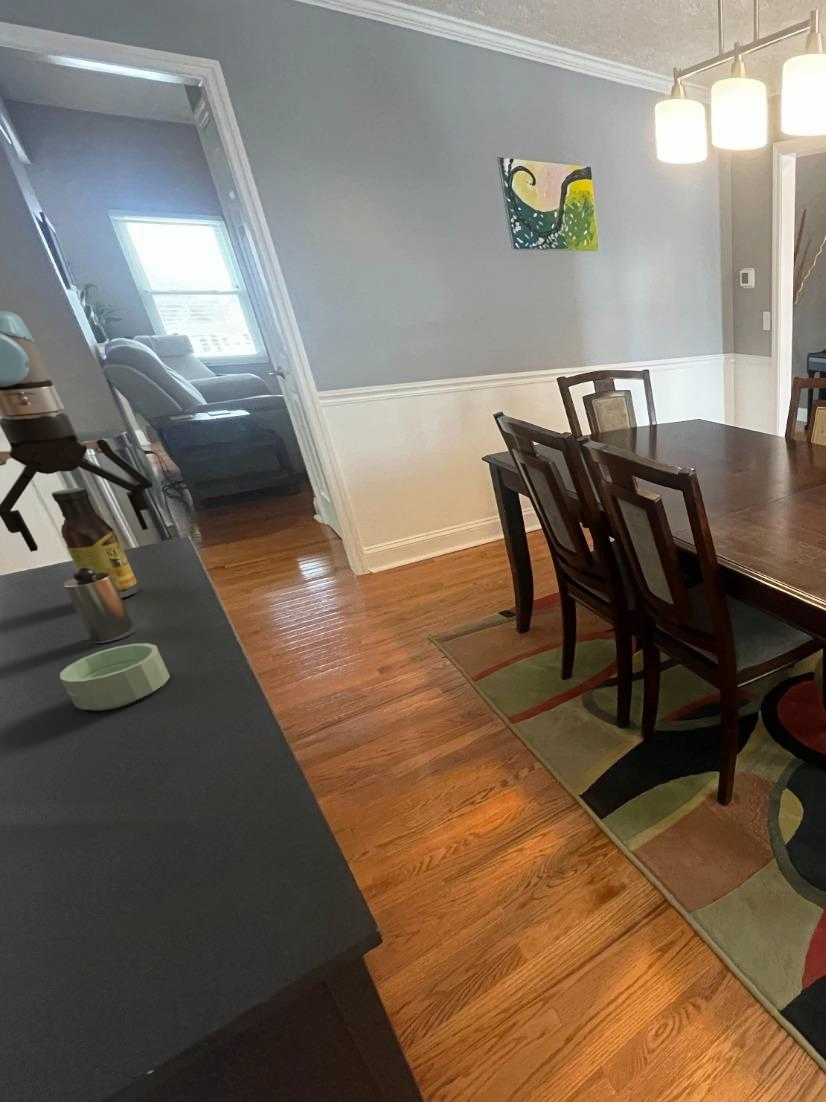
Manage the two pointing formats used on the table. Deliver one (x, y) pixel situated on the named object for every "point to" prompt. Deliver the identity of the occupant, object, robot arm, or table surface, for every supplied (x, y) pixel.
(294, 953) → the table surface
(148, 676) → the bowl
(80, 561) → the sauce bottle
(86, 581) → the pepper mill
